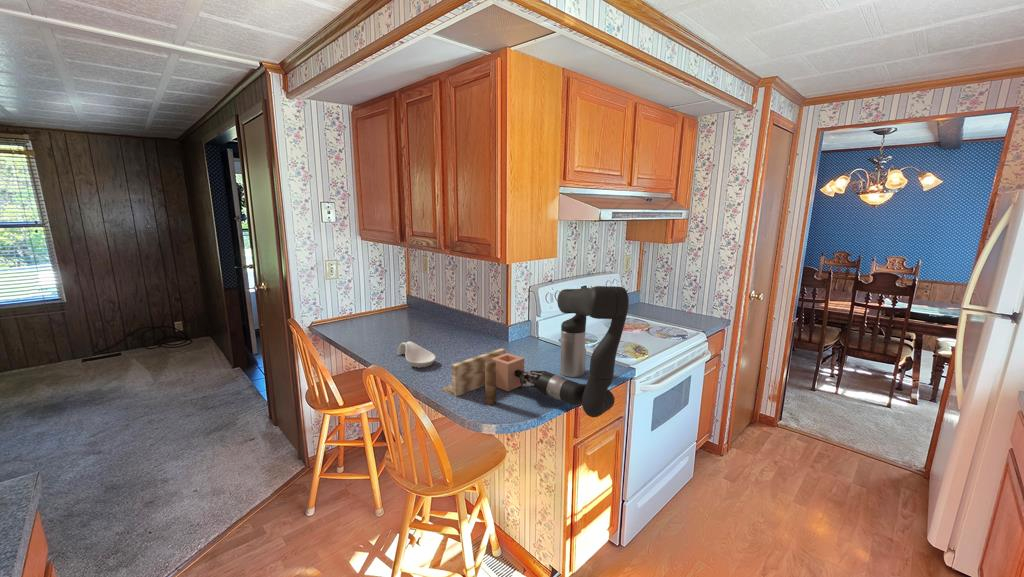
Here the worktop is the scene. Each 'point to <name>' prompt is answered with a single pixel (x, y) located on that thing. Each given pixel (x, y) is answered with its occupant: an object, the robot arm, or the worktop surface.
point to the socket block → (508, 371)
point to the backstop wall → (470, 373)
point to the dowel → (490, 382)
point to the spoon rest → (416, 354)
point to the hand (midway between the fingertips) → (516, 372)
